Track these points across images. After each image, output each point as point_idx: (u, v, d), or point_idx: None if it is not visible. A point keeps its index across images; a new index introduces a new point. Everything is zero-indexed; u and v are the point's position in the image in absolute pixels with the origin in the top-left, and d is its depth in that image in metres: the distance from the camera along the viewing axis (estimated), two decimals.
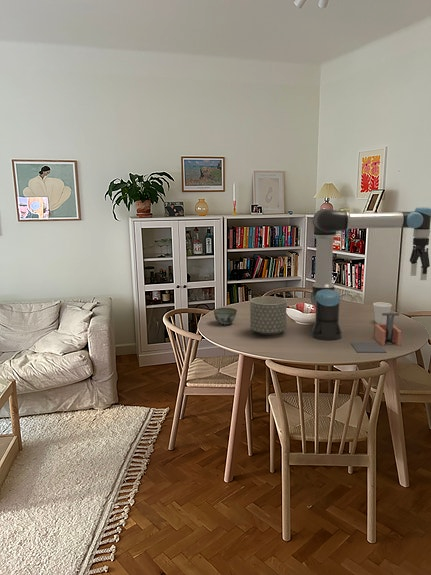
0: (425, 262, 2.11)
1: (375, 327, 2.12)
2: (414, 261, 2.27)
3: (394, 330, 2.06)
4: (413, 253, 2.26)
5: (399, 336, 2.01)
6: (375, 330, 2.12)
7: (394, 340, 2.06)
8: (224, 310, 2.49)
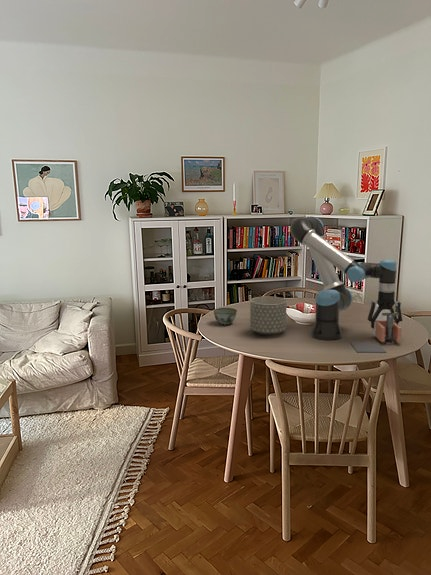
0: (368, 316, 2.12)
1: None
2: (394, 319, 2.11)
3: (394, 327, 2.06)
4: None
5: (399, 332, 2.01)
6: None
7: (394, 337, 2.06)
8: (224, 310, 2.49)
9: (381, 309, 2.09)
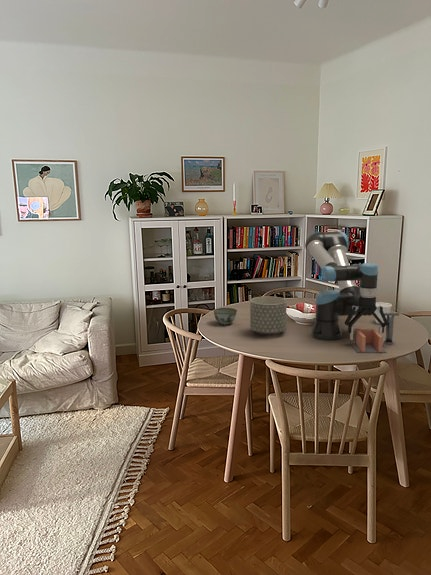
0: (346, 319, 2.02)
1: (356, 332, 2.03)
2: (380, 323, 2.01)
3: (375, 335, 1.96)
4: None
5: (380, 341, 1.91)
6: (356, 335, 2.02)
7: (375, 346, 1.97)
8: (224, 310, 2.49)
9: (361, 314, 1.99)
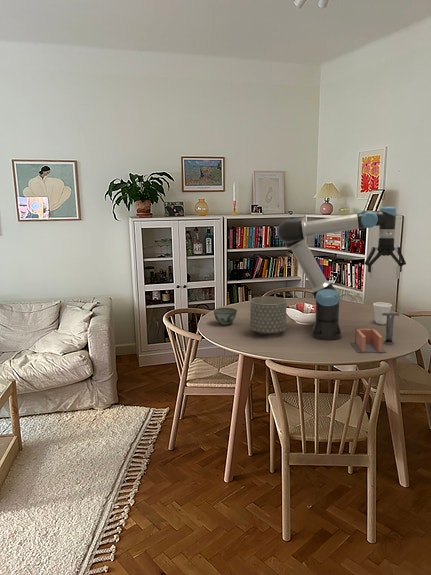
0: (366, 260, 2.18)
1: (356, 332, 2.03)
2: (397, 263, 2.16)
3: (375, 335, 1.96)
4: (398, 254, 2.16)
5: (380, 341, 1.91)
6: (356, 335, 2.02)
7: (375, 346, 1.97)
8: (224, 310, 2.49)
9: (380, 254, 2.14)
